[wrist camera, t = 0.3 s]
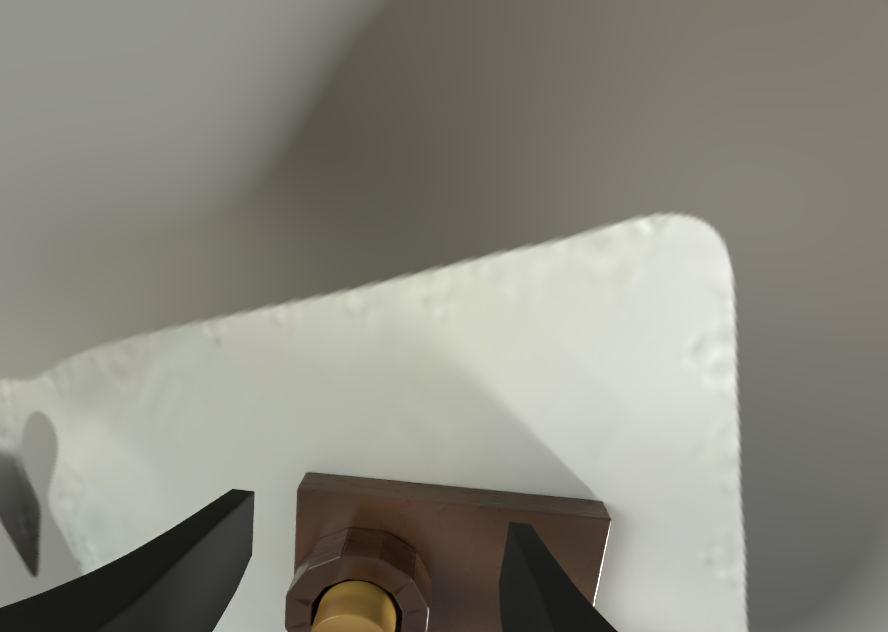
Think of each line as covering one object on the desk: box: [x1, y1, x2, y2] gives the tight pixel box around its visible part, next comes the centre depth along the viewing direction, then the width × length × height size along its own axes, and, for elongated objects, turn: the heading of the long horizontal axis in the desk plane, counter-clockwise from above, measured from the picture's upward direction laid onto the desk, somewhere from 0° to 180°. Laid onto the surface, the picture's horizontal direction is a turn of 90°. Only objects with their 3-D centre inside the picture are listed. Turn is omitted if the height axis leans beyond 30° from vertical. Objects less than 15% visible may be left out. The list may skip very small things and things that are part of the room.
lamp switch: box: [311, 580, 396, 632], centre depth 21 cm, size 4×4×2 cm
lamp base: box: [285, 473, 611, 632], centre depth 24 cm, size 12×15×4 cm
